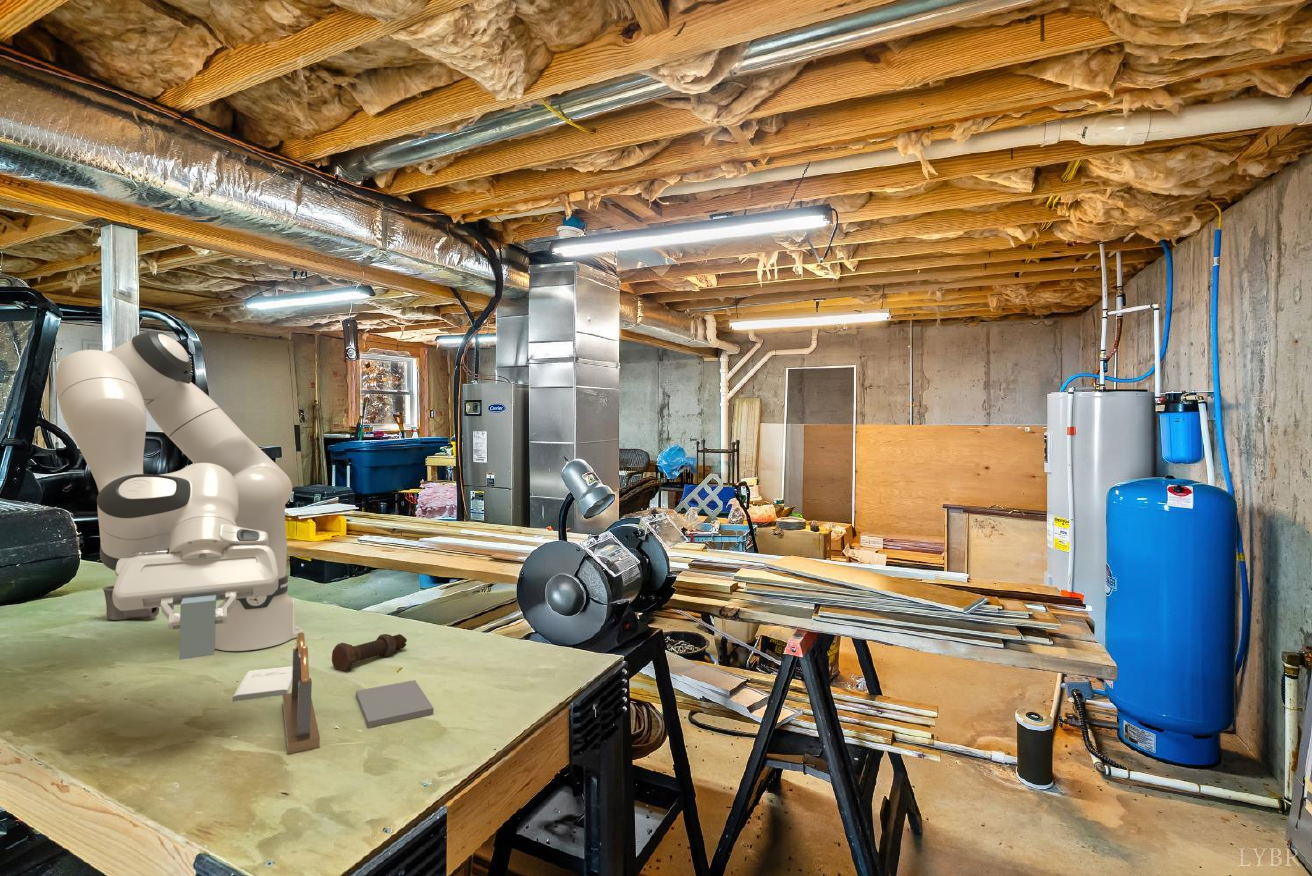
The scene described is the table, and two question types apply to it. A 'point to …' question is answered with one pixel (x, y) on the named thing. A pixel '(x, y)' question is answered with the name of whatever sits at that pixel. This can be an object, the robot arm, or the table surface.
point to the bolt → (366, 651)
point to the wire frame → (300, 704)
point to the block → (197, 626)
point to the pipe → (117, 614)
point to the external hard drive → (264, 683)
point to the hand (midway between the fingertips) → (198, 624)
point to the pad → (393, 703)
